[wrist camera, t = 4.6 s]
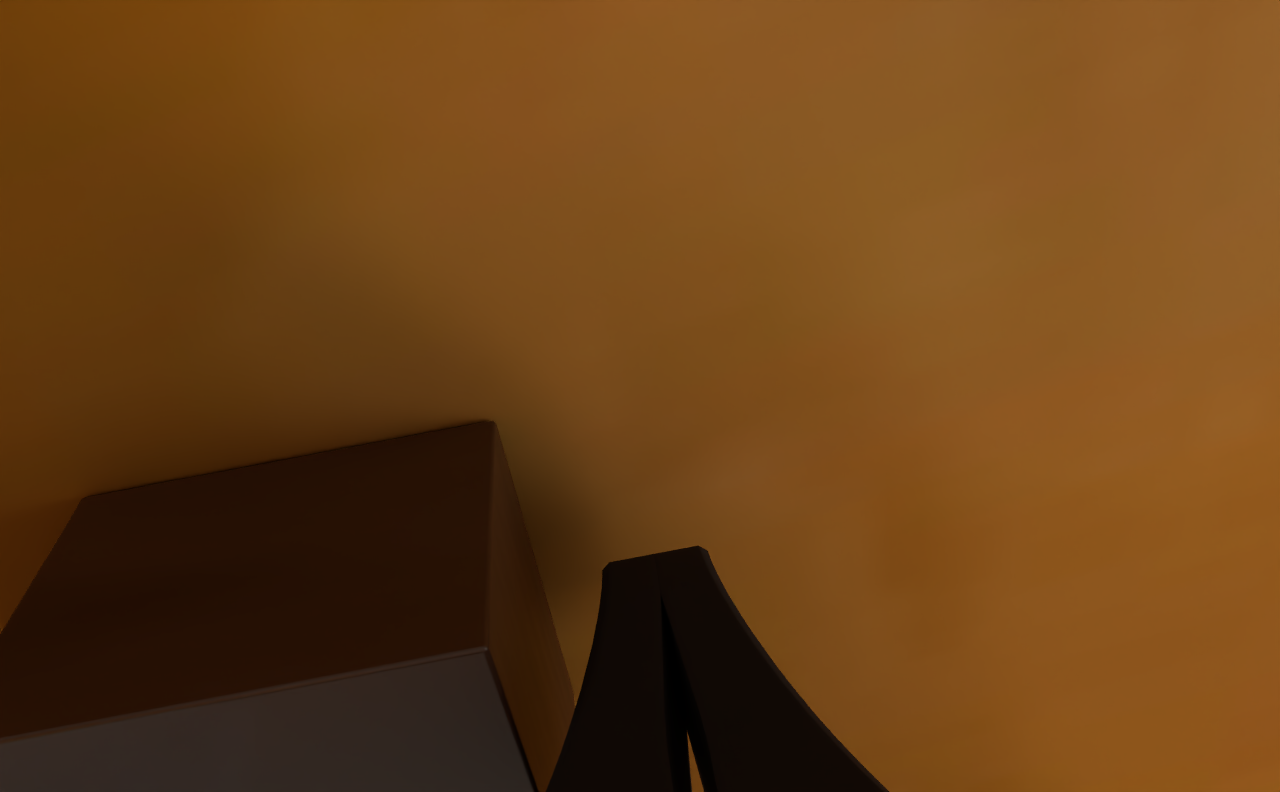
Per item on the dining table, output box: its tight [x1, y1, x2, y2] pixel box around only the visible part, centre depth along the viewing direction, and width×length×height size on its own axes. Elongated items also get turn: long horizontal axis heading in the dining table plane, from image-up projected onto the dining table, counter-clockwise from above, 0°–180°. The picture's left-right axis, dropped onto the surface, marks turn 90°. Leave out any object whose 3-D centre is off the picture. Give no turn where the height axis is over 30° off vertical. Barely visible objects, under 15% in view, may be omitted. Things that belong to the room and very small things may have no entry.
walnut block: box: [0, 421, 575, 792], centre depth 12 cm, size 6×6×4 cm
